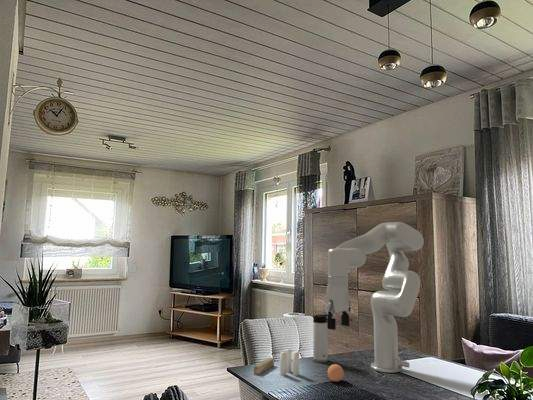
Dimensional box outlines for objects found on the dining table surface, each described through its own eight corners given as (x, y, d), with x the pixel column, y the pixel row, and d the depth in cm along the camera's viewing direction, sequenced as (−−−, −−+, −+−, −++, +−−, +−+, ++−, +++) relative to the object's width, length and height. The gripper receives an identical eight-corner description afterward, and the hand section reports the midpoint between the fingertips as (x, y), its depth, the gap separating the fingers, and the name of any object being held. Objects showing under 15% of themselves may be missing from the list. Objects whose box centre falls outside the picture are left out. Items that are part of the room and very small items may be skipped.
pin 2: (292, 371, 160) (292, 349, 161) (290, 372, 157) (290, 350, 159) (286, 370, 161) (287, 348, 162) (284, 371, 159) (284, 349, 160)
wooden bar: (273, 365, 167) (273, 358, 167) (258, 374, 154) (258, 366, 155) (269, 365, 168) (269, 357, 168) (253, 374, 155) (253, 366, 156)
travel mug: (327, 363, 172) (327, 315, 174) (312, 362, 173) (312, 315, 175) (328, 359, 178) (328, 313, 180) (313, 358, 179) (313, 313, 182)
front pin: (300, 374, 155) (300, 352, 157) (297, 376, 153) (297, 353, 154) (294, 373, 157) (294, 351, 158) (292, 375, 154) (292, 352, 155)
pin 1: (287, 374, 155) (287, 352, 156) (284, 376, 153) (285, 353, 154) (281, 373, 156) (282, 351, 157) (279, 375, 154) (279, 352, 155)
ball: (345, 380, 149) (345, 363, 150) (341, 384, 144) (341, 367, 145) (330, 377, 152) (330, 361, 153) (325, 382, 146) (325, 365, 147)
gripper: (341, 279, 160) (342, 323, 158) (316, 281, 147) (317, 329, 145) (357, 280, 155) (358, 325, 153) (334, 283, 142) (334, 332, 140)
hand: (338, 327), depth 149 cm, fingers open, 9 cm apart
